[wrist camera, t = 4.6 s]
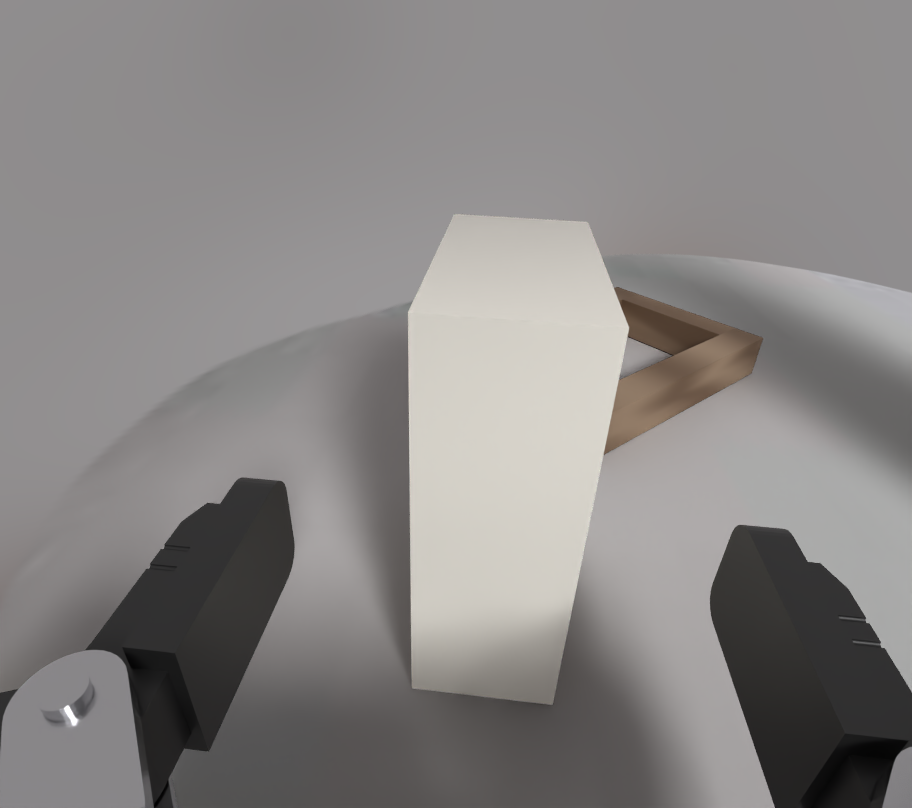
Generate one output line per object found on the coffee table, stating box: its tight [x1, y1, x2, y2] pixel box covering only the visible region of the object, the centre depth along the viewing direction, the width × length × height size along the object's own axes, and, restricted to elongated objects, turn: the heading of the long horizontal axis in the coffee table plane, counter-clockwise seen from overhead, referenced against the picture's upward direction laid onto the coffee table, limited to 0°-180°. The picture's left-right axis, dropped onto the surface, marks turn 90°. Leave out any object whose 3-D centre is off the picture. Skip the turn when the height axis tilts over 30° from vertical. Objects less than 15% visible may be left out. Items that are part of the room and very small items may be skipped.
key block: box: [408, 214, 629, 705], centre depth 15 cm, size 4×7×10 cm, turn 174°
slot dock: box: [604, 287, 763, 454], centre depth 29 cm, size 13×9×2 cm
